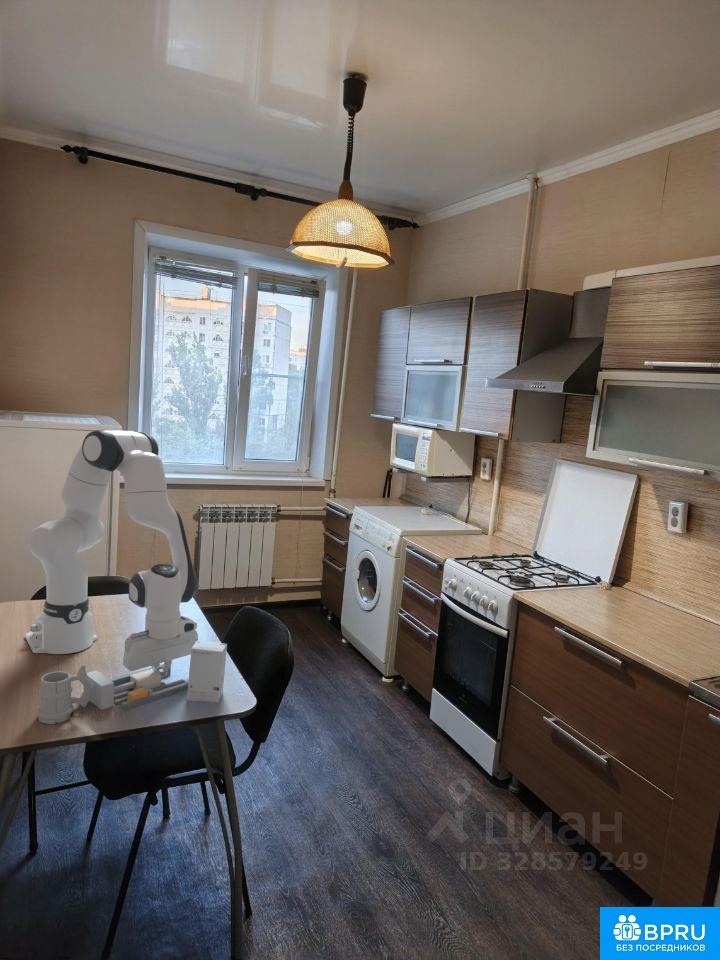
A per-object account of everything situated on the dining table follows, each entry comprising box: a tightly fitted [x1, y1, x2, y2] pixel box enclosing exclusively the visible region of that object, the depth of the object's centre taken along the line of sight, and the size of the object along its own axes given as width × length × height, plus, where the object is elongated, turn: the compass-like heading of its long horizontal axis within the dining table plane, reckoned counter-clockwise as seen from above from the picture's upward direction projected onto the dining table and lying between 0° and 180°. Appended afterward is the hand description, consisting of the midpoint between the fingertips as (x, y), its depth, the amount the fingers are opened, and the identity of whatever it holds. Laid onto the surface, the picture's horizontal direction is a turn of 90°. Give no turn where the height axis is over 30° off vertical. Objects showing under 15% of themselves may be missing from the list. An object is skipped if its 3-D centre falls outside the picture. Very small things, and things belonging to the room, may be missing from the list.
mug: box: [36, 663, 92, 725], centre depth 149 cm, size 8×12×12 cm, turn 121°
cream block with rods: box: [114, 669, 162, 696], centre depth 160 cm, size 10×12×3 cm
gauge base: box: [87, 663, 188, 711], centre depth 163 cm, size 17×26×7 cm, turn 138°
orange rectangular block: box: [126, 688, 148, 703], centre depth 156 cm, size 3×4×2 cm, turn 138°
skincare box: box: [186, 640, 228, 703], centre depth 161 cm, size 8×6×15 cm
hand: (160, 676), depth 167 cm, fingers closed
